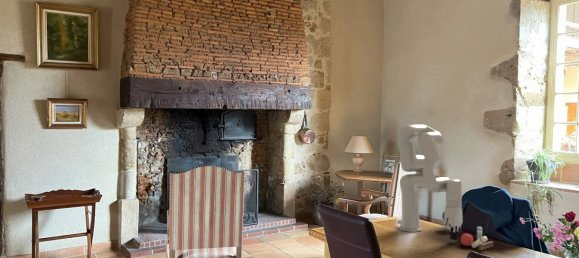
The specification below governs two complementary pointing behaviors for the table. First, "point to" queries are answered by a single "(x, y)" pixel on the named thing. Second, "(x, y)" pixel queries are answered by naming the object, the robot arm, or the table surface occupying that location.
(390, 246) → the table surface
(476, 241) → the ivory pin
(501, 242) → the table surface
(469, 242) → the ball
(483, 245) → the backstop
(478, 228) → the slate-blue pin
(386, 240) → the table surface
